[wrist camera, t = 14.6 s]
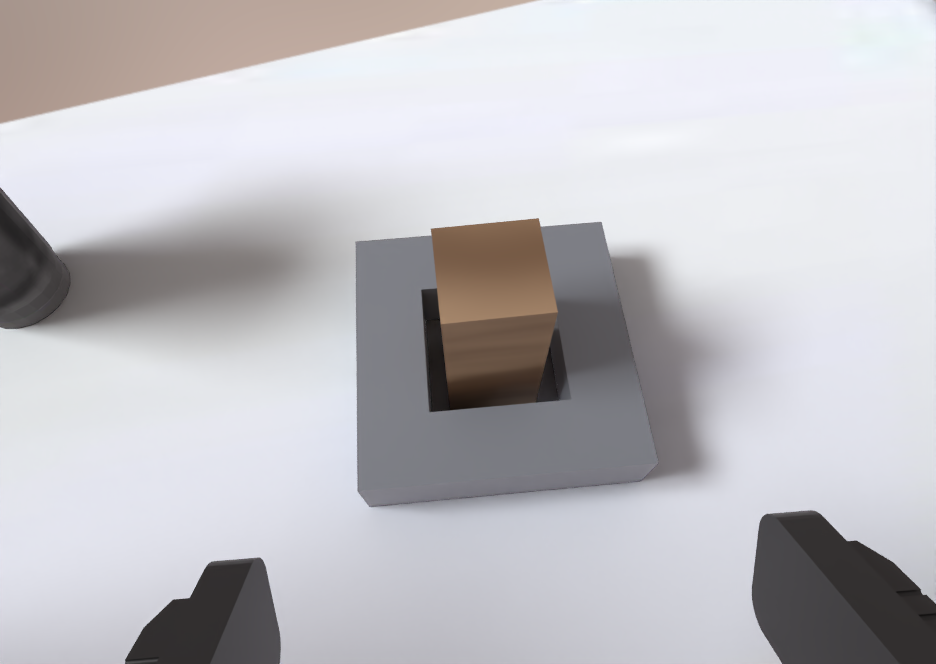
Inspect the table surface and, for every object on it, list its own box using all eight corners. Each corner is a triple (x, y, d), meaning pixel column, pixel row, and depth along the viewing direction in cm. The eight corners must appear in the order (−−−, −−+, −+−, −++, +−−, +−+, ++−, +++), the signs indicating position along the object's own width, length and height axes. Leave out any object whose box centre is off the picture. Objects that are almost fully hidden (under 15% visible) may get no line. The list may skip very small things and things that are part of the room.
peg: (535, 405, 29) (557, 312, 21) (450, 414, 29) (440, 324, 21) (522, 330, 30) (538, 218, 23) (442, 339, 30) (430, 228, 22)
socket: (640, 481, 27) (658, 463, 24) (369, 506, 27) (357, 491, 24) (591, 256, 32) (601, 221, 30) (365, 275, 32) (355, 241, 29)
